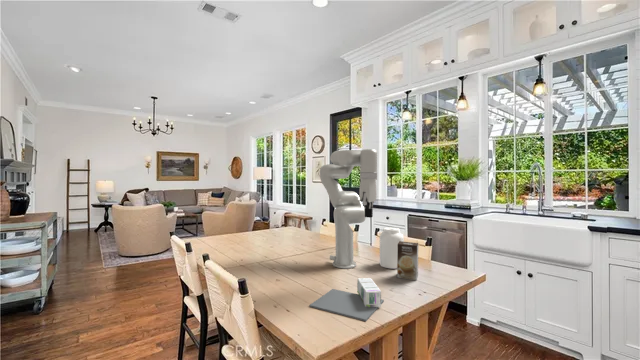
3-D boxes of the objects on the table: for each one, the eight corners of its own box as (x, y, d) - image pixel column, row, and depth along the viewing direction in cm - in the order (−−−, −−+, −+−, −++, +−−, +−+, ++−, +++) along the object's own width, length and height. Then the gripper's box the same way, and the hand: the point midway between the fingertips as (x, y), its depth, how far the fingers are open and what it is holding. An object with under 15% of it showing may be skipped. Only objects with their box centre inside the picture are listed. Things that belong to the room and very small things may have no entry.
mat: (309, 306, 108) (309, 304, 108) (332, 290, 124) (332, 288, 124) (366, 321, 97) (366, 319, 97) (383, 301, 112) (383, 299, 112)
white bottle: (406, 264, 159) (406, 227, 159) (399, 270, 149) (399, 231, 149) (384, 261, 166) (384, 225, 166) (376, 266, 156) (376, 228, 155)
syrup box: (357, 277, 120) (365, 291, 106) (371, 277, 120) (381, 291, 106) (357, 291, 120) (365, 307, 106) (371, 291, 120) (381, 307, 106)
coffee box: (396, 277, 138) (396, 243, 138) (399, 273, 144) (399, 240, 144) (417, 280, 135) (417, 245, 134) (418, 276, 140) (418, 242, 140)
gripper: (366, 176, 142) (367, 214, 142) (354, 176, 129) (354, 218, 130) (382, 176, 138) (382, 215, 139) (370, 176, 126) (370, 219, 126)
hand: (368, 217), depth 134 cm, fingers closed
